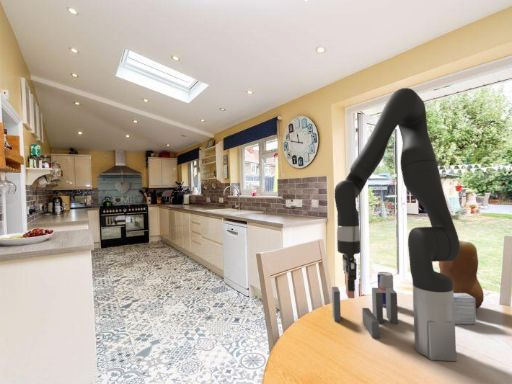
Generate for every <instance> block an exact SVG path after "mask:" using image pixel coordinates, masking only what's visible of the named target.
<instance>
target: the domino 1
mask: <svg viewBox="0 0 512 384" xmlns="http://www.w3.org/2000/svg"><path fill="white" fill-rule="evenodd" d="M331 294H332V295H331V301H332V302H331V303H332V305H331V307H332V316H333V321H334V322H337V323H339V322H342V318H341V315H342V314H341V313H342V312H341V290H340V289H339V286H331Z"/></svg>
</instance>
